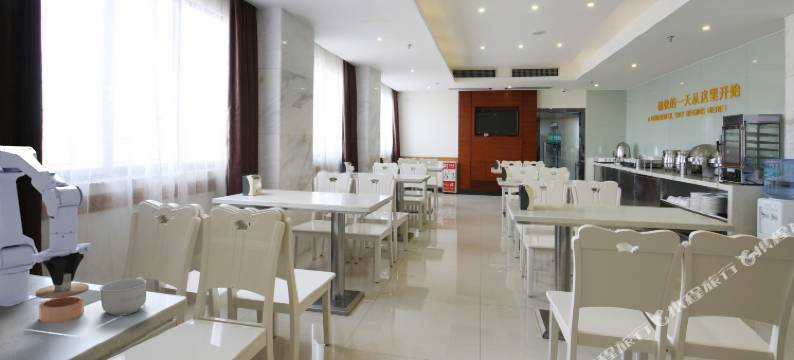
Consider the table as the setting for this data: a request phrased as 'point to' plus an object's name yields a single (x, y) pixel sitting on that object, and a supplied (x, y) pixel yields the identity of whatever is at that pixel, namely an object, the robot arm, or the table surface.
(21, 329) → the table surface
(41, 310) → the bowl
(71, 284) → the lid
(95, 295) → the mat
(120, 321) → the table surface
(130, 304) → the teacup
